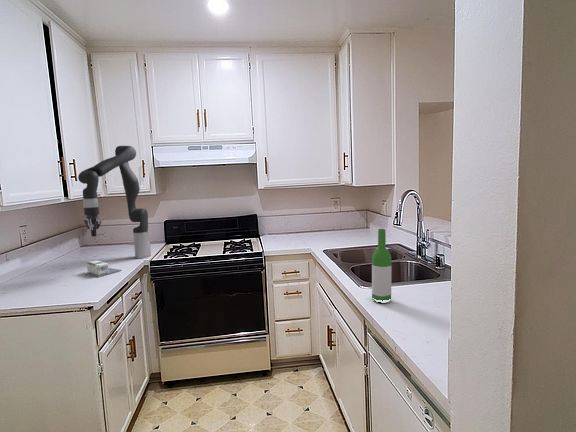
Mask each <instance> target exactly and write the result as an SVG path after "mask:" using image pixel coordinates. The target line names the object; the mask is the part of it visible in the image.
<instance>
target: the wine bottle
mask: <svg viewBox="0 0 576 432" xmlns="http://www.w3.org/2000/svg"><path fill="white" fill-rule="evenodd" d="M386 247H387V245H386V229H385V228H379V229H378V230H377V249H375V250H374V251H373V253H372V257H371V299H372V298H374V299H376V300H382V301H383V300H389V299H391V300H392V255H391V252H390V251H389V250H388V249H387V248H386Z"/></svg>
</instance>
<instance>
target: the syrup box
mask: <svg viewBox="0 0 576 432" xmlns="http://www.w3.org/2000/svg"><path fill="white" fill-rule="evenodd" d="M86 268H87V269H86V270H87V273H94V274H97V275H101V274H106V273H109V271H108V268H109V263H107V262H103V261H101V260H91V261H90V260H89V261H86Z"/></svg>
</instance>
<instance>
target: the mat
mask: <svg viewBox="0 0 576 432" xmlns="http://www.w3.org/2000/svg"><path fill="white" fill-rule="evenodd" d="M108 271H109V273H106V274H101V275H97V274H94V273H91V272H87V273H84V274H85V276H88V275H89V277H94V278H101V277H105V276H109V275H112V274H116V273H119V272H121V271H122V269H118V268H112V267H108Z"/></svg>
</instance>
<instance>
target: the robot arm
mask: <svg viewBox="0 0 576 432" xmlns="http://www.w3.org/2000/svg"><path fill="white" fill-rule="evenodd" d="M114 154H115V156H112V157H109V158H106V159H104V160H102V161H100V162H98V163H97V164H94V165H93V166H91V167H89V168H88V167H87V168H86V169H84V170H82V171H81V172H79V174H78V176H77V177H78V178H77V179H78V181H79V182H80V183H81V184H84V185H86V187H84V188H83V189H82V199H83V201H82V202H83V203H82V205H83V215H84V216H86V219H84V220H83V222H84V224H85V226H86V228H87V229H88V230H90V236H91V237H93V238H94V237H97V236H98V235H97V234H98V233H97V230H98V229H100V226H101V224H102V220H100V219H99V216H98V215H100V207H99V206H100V205H99V200H98V189H99V188H98V187H99V182H100V181H99V179H100V177H103V176H105V175H106V174H108V173H110V171H113V170H115V169H116V168H119V170H120V171H119V172H120V175H121V180H122V184H123V188H124V189H123V190H124V194H125V197H126V202H127V210H128V211H127V212H128V218H129V220H130V222H132V223H139V225H138V226H136V227H134V228H133V229H132V232H133V233H132V234H133V246H134V247H133V248H134V258H135V259H145V258H146V259H147V258H149V257H151V255H152V254H151V253H152V252H151V242H150V241H149V212H148V210H147V209H146V208H144V207H143V208H136V200H137V198H138V195H139V194H140V185H139V184H140V182H139V178H138V177H137V176H136V174H135V173H134V171H133V170H132V168H131V167H130V164H129V162H130V161H133V160H134V159H135V158H136V157H137V151H136V148H135V147H134V146H131V145H117V146H116V147H115V150H114Z"/></svg>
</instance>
